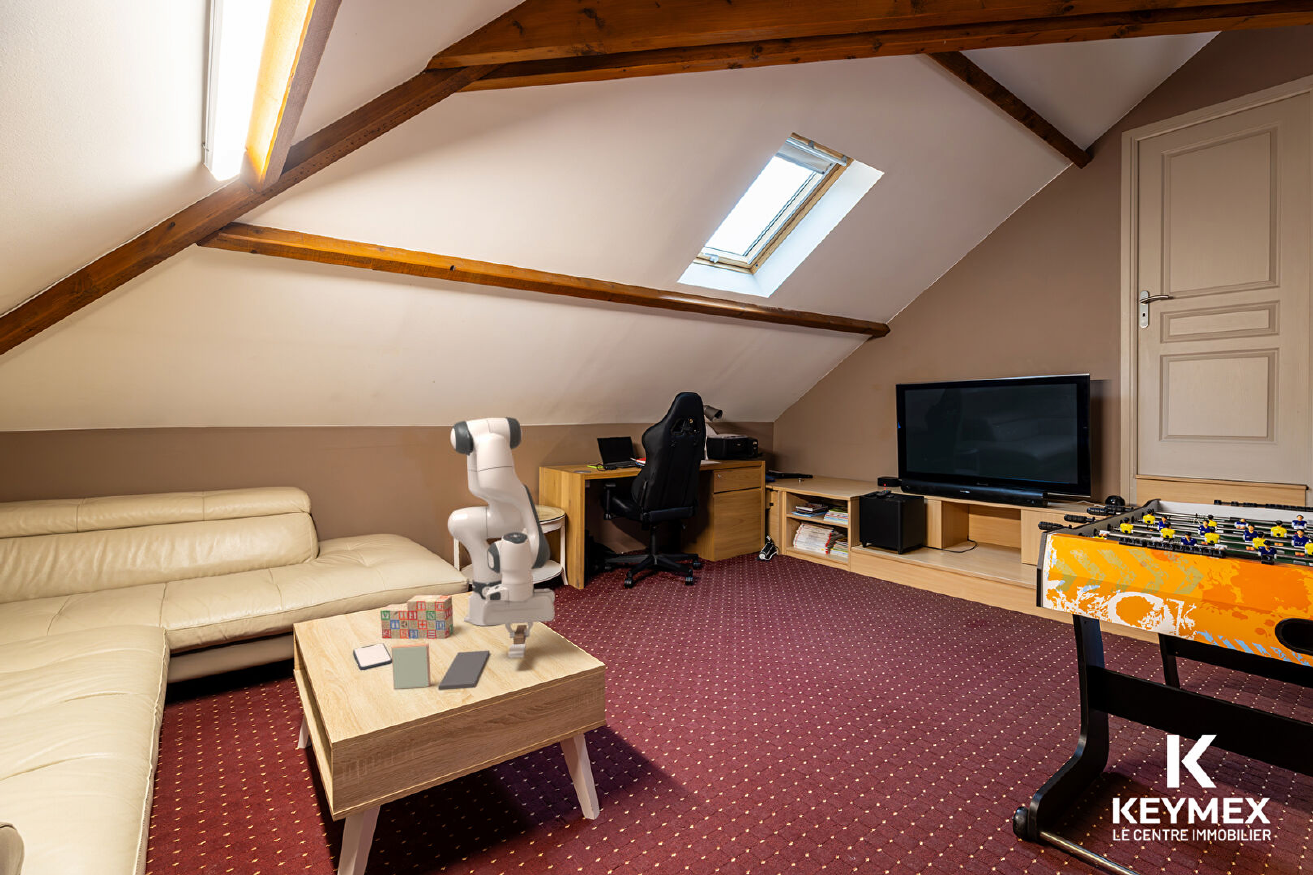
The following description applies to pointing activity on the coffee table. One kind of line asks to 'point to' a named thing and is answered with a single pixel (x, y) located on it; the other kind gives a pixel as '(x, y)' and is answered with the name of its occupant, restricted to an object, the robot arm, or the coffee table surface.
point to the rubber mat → (464, 670)
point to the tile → (411, 666)
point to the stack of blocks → (419, 618)
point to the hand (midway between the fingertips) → (519, 636)
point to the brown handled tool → (518, 643)
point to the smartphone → (372, 656)
